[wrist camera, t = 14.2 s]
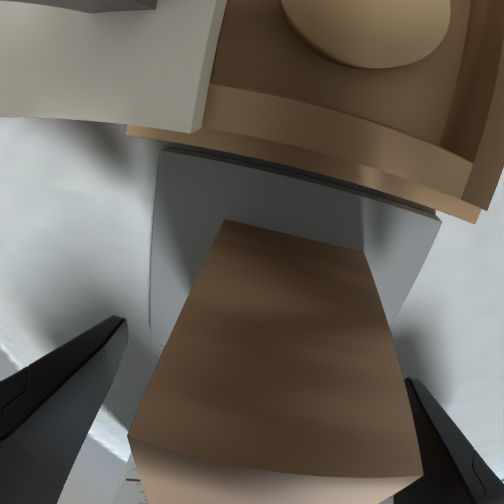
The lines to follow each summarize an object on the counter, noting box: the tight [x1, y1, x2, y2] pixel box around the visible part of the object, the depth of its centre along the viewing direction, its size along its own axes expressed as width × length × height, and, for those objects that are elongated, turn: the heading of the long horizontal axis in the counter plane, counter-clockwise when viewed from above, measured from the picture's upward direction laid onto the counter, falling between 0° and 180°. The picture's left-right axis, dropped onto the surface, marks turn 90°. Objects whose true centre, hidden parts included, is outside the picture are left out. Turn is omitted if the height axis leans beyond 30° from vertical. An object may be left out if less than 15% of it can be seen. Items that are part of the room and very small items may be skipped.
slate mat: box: [150, 147, 442, 346], centre depth 12 cm, size 10×9×1 cm
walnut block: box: [127, 219, 423, 504], centre depth 9 cm, size 5×5×8 cm
